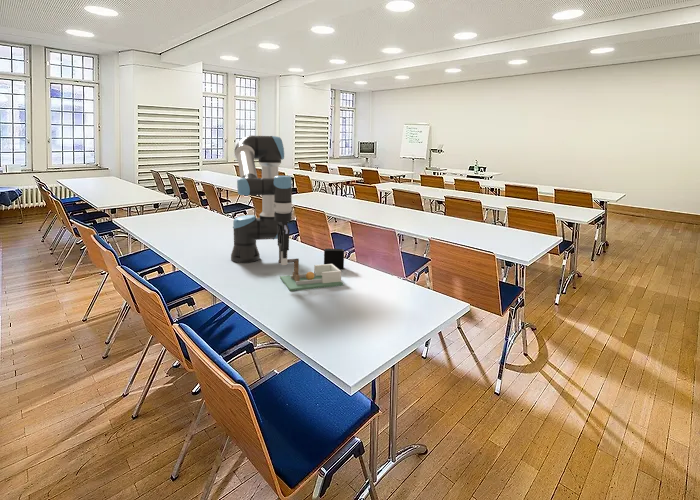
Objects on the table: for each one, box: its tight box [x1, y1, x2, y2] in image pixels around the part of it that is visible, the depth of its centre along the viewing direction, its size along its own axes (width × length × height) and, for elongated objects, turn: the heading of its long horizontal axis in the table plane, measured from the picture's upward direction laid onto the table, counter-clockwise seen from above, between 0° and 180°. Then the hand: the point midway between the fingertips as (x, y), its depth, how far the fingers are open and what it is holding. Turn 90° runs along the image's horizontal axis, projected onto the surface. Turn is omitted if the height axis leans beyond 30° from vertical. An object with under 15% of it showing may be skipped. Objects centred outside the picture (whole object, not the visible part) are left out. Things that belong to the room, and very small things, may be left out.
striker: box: [278, 243, 300, 282], centre depth 198 cm, size 6×9×18 cm, turn 113°
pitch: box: [279, 263, 344, 292], centre depth 204 cm, size 18×25×6 cm
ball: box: [305, 271, 314, 280], centre depth 204 cm, size 4×4×4 cm
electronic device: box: [323, 248, 345, 271], centre depth 225 cm, size 4×10×10 cm, turn 95°
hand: (283, 263), depth 197 cm, fingers closed on striker, 3 cm apart
